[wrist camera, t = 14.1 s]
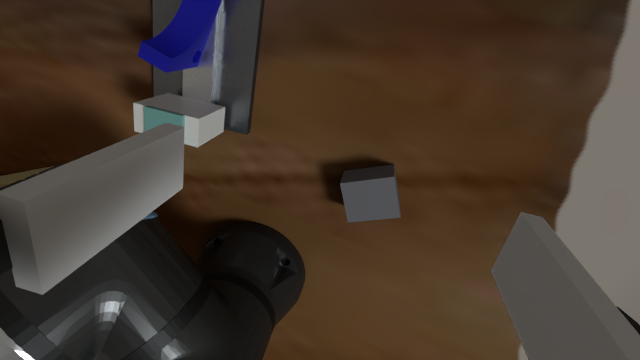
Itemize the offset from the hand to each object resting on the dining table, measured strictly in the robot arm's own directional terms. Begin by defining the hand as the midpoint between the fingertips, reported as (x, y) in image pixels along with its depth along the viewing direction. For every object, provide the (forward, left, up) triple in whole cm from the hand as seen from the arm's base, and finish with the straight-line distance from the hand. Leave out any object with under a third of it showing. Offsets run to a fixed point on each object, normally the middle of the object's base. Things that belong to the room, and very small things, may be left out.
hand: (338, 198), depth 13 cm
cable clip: (+5, +19, -25) cm, 32 cm away
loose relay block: (-11, -3, -27) cm, 29 cm away
